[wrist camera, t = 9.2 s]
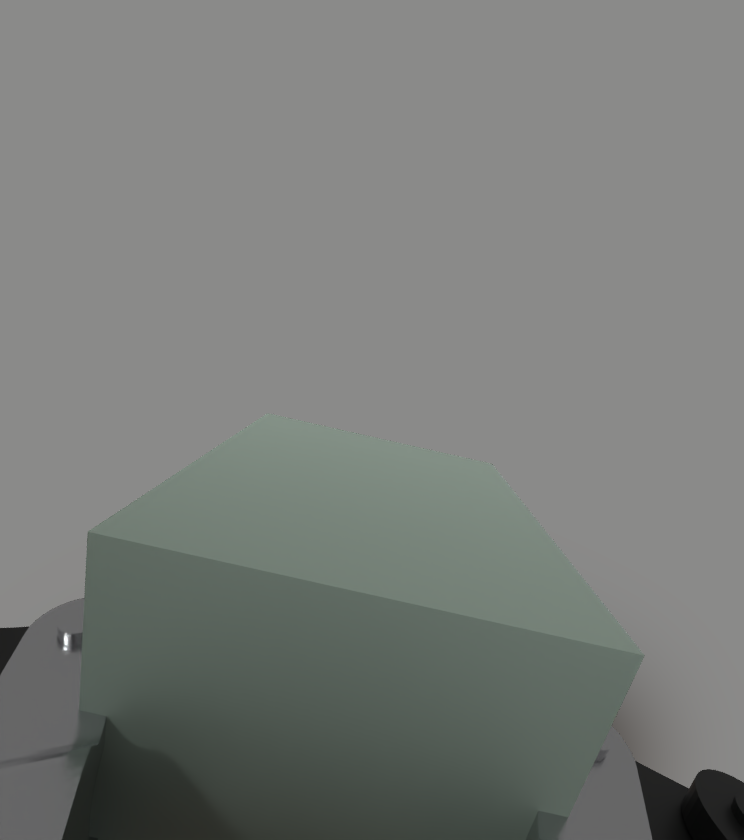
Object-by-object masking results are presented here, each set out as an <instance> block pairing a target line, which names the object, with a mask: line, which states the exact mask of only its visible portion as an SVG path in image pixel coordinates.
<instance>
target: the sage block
mask: <svg viewBox="0 0 744 840" xmlns="http://www.w3.org/2000/svg"><path fill="white" fill-rule="evenodd" d="M85 580H86V581H85V598H84V618H83V638H82V658H81V678H80V699H79V710H81V711H85V712H90V713H94V714H99V715H104V716H107V717H106V732H105V746H104V750H103V754H102V758H101V761H100V765H99V770H98V774H97V778H96V783H95V788H94V794H93V799H92V806H91V813H90V828H89V836H90V837H95V838H98V840H526V837H527V835H528V833H529V831H530V828H531V826H532V824H533V822H534V819H535V817H536V815H537V813H538V811H542V812H547V813H552V814H556V815H561V816H565V817H569V815H570V813H571V810H572V808H573V806H574V804H575V802H576V800H577V798H578V796H579V794H580V791H581V789H582V787H583V785H584V783H585V781H586V779H587V777H588V775H589V772H590V770H591V768H592V766H593V764H594V762H595V760H596V758H597V755H598V753H599V751H600V749H601V747H602V745H603V743H604V741H605V739H606V736H607V734H608V732H609V730H610V728H611V726H612V724H613V722H614V719H615V717H616V715H617V713H618V711H619V709H620V707H621V705H622V703H623V700H624V698H625V696H626V694H627V692H628V690H629V688H630V686H631V684H632V681H633V679H634V677H635V675H636V673H637V671H638V669H639V667H640V664H641V662H642V660H643V658H644V654H643V653H642V652H641V650H640V649H639V648H638V647H637V645H636V644H635V643H634V642H633V640H632V639H631V638H630V637H629V635H628V634H627V633H626V631H625V630H624V629H623V628H622V626H621V625H620V624H619V623H618V621H617V620H616V619H615V618H614V616H613V615H612V614H611V613H610V611H608V609H607V608H606V606H605V605H604V604H603V603H602V602H601V600H600V599H599V598H598V596H597V595H596V594H595V593H594V591H593V590H592V589H591V587H590V586H589V585H588V584H587V583H586V581H585V580H584V579H583V578H582V576H581V575H580V574H579V573H578V571H577V570H576V569H575V567H574V566H573V565H572V564H571V562H570V561H569V560H568V559H567V557H566V556H565V555H564V554H563V552H562V551H561V550H560V549H559V547H558V546H557V545H556V543H555V542H554V541H553V540H552V538H551V537H550V536H549V535H548V533H547V532H546V531H545V530H544V528H543V527H542V526H541V525H540V523H539V522H538V521H537V520H536V518H535V517H534V516H533V515H532V513H531V512H530V511H529V510H528V508H527V507H526V506H525V505H524V503H523V502H522V501H521V499H520V498H519V497H518V496H517V494H516V493H515V492H514V491H513V490H512V488H511V487H510V486H509V485H508V483H507V482H506V481H505V479H504V478H503V477H502V476H501V474H500V473H499V472H498V471H497V469H496V468H495V467H494V466H493V464H490V463H486V462H481V461H477V460H472V459H468V458H463V457H459V456H455V455H450V454H446V453H441V452H437V451H432V450H428V449H424V448H419V447H415V446H410V445H406V444H401V443H397V442H392V441H388V440H384V439H379V438H374V437H370V436H366V435H361V434H357V433H353V432H348V431H344V430H339V429H334V428H330V427H326V426H321V425H317V424H312V423H308V422H303V421H299V420H295V419H291V418H286V417H282V416H277V415H273V414H266V415H265V416H263V417H262V418H260V419H258V420H257V421H256V422H254V423H252V424H251V425H249V426H248V427H246V428H245V429H244V430H242V431H240V432H239V433H237V434H236V435H234V436H233V437H231V438H230V439H228V440H227V441H225V442H223V443H222V444H220V445H219V446H217V447H216V448H214V449H213V450H211V451H210V452H208V453H207V454H205V455H204V456H202V457H201V458H199V459H198V460H196V461H195V462H193V463H192V464H190V465H189V466H187V467H185V468H184V469H182V470H181V471H179V472H178V473H176V474H175V475H173V476H172V477H170V478H169V479H167V480H166V481H164V482H163V483H161V484H160V485H158V486H157V487H155V488H154V489H152V490H150V491H149V492H148V493H146V494H145V495H143V496H141V497H140V498H138V499H137V500H135V501H134V502H132V503H131V504H129V505H128V506H126V507H125V508H123V509H122V510H120V511H119V512H117V513H116V514H114V515H113V516H111V517H109V518H108V519H107V520H105V521H103V522H102V523H100V524H99V525H98V526H96V527H94V528H93V529H91V530H90V531H88V538H87V558H86V578H85Z"/></svg>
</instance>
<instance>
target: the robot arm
mask: <svg viewBox="0 0 744 840" xmlns="http://www.w3.org/2000/svg"><path fill="white" fill-rule="evenodd" d="M83 618H84V598H82V599H77V600H74V601H70V602H68V603H65V604H63V605H60V606H58V607H56V608H54V609H52V610H50V611H49V612H47V613H45V614H44V615H42V616H41V617H40V618H39V619H37V620H36V621H35V622H34V623H33V624H32V625H31V626H30V627H19V628H0V840H98V838H95V837H90V836H89V828H90V813H91V806H92V799H93V794H94V788H95V783H96V778H97V774H98V770H99V765H100V761H101V758H102V754H103V750H104V746H105V732H106V717H107V716H104V715H99V714H94V713H90V712H85V711H81V710H79V699H80V678H81V658H82V638H83ZM526 840H744V783H743V782H742V781H740V780H737V779H736V778H734V777H732V776H730V775H728V774H725V773H723V772H719V771H716V770H709V769H707V770H702V771H700V772H699V773H698V774H697V776H696V778H695V779H694V781H693V783H692V785H691V786H690V788H689V789H688V788H686V787H685V786H683V785H681V784H679V783H676V782H675V781H673V780H671V779H669V778H667V777H665V776H663V775H661V774H659V773H657V772H655V771H653V770H651V769H650V768H648V767H646V766H644V765H642V764H640V763H638V762H636V761H635V759H634V757H633V755H632V753H631V751H630V749H629V747H628V746H627V744H626V742H625V741H624V740H623V738H622V737H621V736H620V734H619V733H618V732H617V731H616V730H615V729H614V727H612V726H611V728H610V730H609V732H608V734H607V736H606V739H605V741H604V743H603V745H602V747H601V749H600V751H599V753H598V755H597V758H596V760H595V762H594V764H593V766H592V768H591V770H590V772H589V775H588V777H587V779H586V781H585V783H584V785H583V787H582V789H581V791H580V794H579V796H578V798H577V800H576V802H575V804H574V806H573V808H572V810H571V813H570V815H569V817H565V816H561V815H556V814H552V813H547V812H542V811H538V813H537V815H536V817H535V819H534V822H533V824H532V826H531V828H530V831H529V833H528V835H527V837H526Z"/></svg>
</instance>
